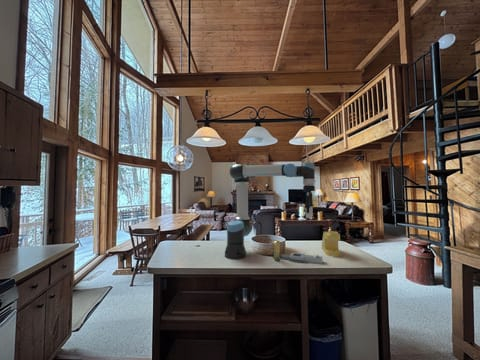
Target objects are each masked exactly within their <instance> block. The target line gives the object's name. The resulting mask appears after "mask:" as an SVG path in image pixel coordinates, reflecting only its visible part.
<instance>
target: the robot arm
mask: <svg viewBox="0 0 480 360" xmlns="http://www.w3.org/2000/svg"><path fill="white" fill-rule="evenodd" d="M315 169H316V167H315V163H314V162H311V161H310V162H309V161H308V162H303V163H302V165H295V164H294V163H286V164H282V163H281V164H258V165H257V164H256V165H255V164H254V165H253V164H252V165H247V164H246V163H243V164H242V163H235V164H232V165H231V167H230V168H229V175H230V177H231V178H232V179H233V180H234V184H235V185H236V217H235V218H234V220H231V221H228V222H227V225H226V247H225V250H224V257H225V258H227V259H233V260H237V259H238V260H239V259H243V258H245V257H247V251H246V247H245V237H246V236H249V235H250V234H251V232H252V231H253V225H252V223H251V218H250V216H249V186H248V185H249V184H250V181H251V180H250V178H251V177H286V178H300V177H301V178H302V177H303V178H302V184H303V192H305V206H304V209H305V218H306V219H311V217H313V216H314V214H313V211H314V210H313V207H314V203H313V202H314V201H313V192H315V191H316V184H315V182H316V177H315V176H316V175H315V174H316V173H315Z"/></svg>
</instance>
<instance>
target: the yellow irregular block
mask: <svg viewBox="0 0 480 360" xmlns="http://www.w3.org/2000/svg"><path fill="white" fill-rule="evenodd" d="M339 241H341V234H340V233H339V232H338V231H335V230H334V231H332V230H330V231H325V232H323V234H322V240H321V249H322V251H323V253H324V254H325V255H326V256H327V255H328V257H331V256H332V257H331V258H340V257H341V250H340V249H339Z"/></svg>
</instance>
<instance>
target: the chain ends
mask: <svg viewBox="0 0 480 360" xmlns="http://www.w3.org/2000/svg"><path fill="white" fill-rule="evenodd" d="M272 259H274V254H273V257H272ZM280 260H285V261H286V260H287V261H288V260H289V261H290V262H297V263H304V262H305V263H311V262H312V263H313V264H320V263H321V264H323V263H324V262H323V256H322V255H321V256H320V255H318V254H314V255H311V254H310V255H309V254H305V253H299V252H290V254H282V253H280ZM321 264H320V265H321Z"/></svg>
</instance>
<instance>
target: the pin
mask: <svg viewBox="0 0 480 360" xmlns="http://www.w3.org/2000/svg"><path fill="white" fill-rule="evenodd" d="M273 243H274V244H273V250H274V252H273V255H274V258H273V259H274V262H280V261H281V259H280V254H281V241H280V240H274V242H273Z"/></svg>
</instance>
